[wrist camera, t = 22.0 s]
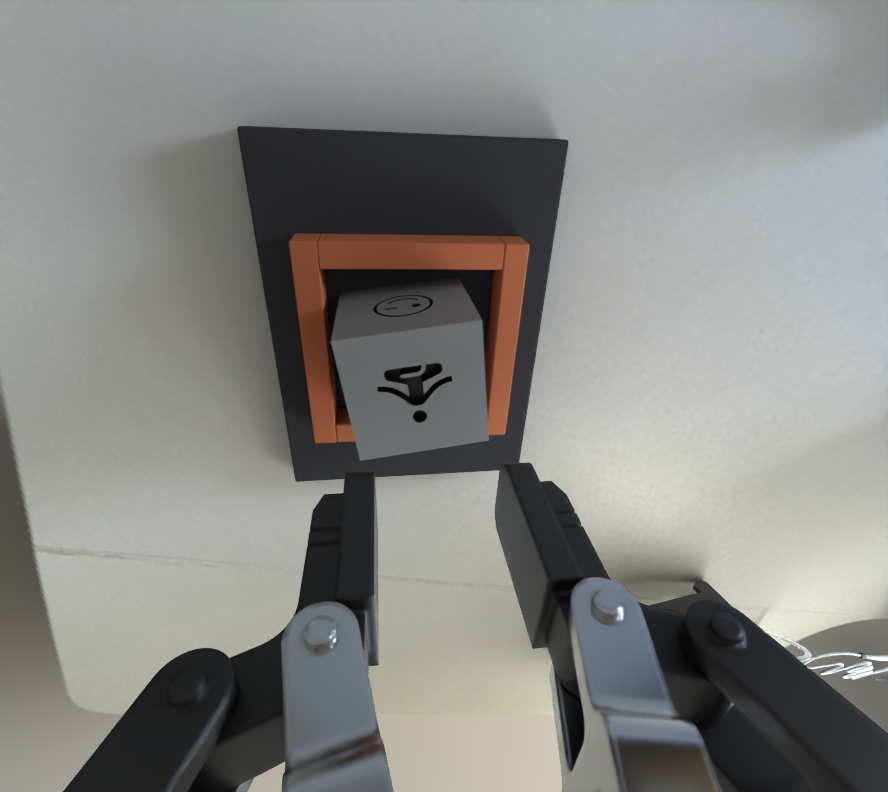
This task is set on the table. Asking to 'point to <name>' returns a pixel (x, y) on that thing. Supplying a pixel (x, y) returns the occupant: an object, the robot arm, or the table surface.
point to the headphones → (855, 671)
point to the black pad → (400, 267)
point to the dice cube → (411, 367)
